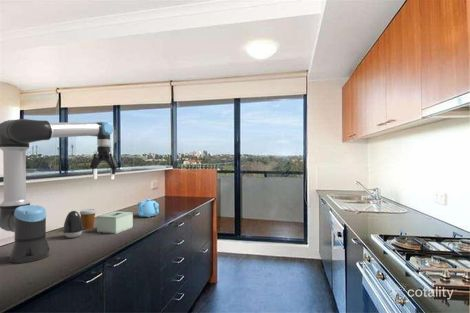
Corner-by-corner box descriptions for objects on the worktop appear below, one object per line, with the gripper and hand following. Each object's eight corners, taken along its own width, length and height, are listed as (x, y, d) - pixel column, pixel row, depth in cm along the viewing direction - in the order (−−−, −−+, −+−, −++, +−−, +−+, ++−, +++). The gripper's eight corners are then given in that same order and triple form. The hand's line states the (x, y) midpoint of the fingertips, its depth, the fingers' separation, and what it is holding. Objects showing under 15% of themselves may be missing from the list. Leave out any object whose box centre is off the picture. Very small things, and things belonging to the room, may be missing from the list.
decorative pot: (159, 217, 213) (159, 200, 213) (137, 219, 208) (137, 201, 208) (157, 213, 228) (157, 197, 229) (137, 214, 223) (137, 198, 223)
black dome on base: (60, 240, 155) (60, 213, 155) (66, 235, 165) (66, 209, 165) (80, 238, 157) (80, 212, 158) (85, 233, 167) (85, 208, 168)
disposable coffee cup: (94, 229, 177) (94, 211, 177) (77, 230, 174) (77, 211, 175) (97, 226, 186) (97, 208, 186) (81, 227, 184) (81, 209, 184)
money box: (116, 233, 167) (115, 217, 167) (97, 232, 171) (97, 216, 171) (132, 227, 182) (132, 212, 182) (115, 226, 186) (115, 211, 186)
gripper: (123, 146, 177) (123, 179, 177) (92, 146, 184) (92, 178, 184) (115, 145, 170) (115, 179, 170) (83, 146, 177) (83, 179, 177)
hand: (103, 179), depth 177 cm, fingers open, 13 cm apart
